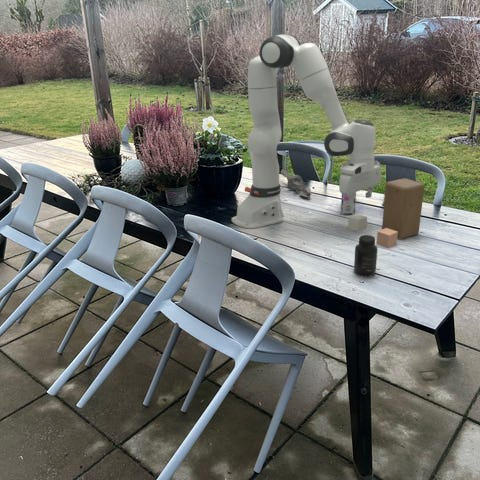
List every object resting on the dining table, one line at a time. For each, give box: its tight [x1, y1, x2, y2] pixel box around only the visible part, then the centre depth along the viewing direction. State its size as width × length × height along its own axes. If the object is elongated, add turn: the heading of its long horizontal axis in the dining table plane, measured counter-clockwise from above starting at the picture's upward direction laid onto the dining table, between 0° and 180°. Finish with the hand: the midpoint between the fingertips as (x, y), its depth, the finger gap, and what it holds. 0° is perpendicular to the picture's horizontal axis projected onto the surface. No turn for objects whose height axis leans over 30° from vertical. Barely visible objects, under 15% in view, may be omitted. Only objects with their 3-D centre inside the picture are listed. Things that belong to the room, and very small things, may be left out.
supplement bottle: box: [353, 234, 378, 277], centre depth 148 cm, size 7×7×12 cm
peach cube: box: [375, 228, 398, 249], centre depth 168 cm, size 5×5×5 cm
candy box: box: [340, 192, 357, 215], centre depth 201 cm, size 14×6×16 cm, turn 168°
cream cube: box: [347, 213, 368, 232], centre depth 183 cm, size 5×5×5 cm
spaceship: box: [280, 168, 312, 198], centre depth 231 cm, size 8×35×8 cm
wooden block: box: [381, 177, 425, 240], centre depth 174 cm, size 10×10×20 cm
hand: (360, 200), depth 179 cm, fingers open, 8 cm apart
